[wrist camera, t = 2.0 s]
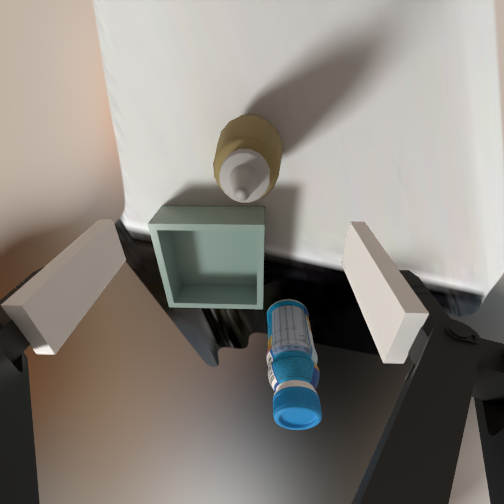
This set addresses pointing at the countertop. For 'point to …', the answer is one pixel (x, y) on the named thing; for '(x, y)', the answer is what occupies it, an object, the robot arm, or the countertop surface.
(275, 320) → the beverage bottle
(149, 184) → the countertop surface
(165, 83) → the countertop surface
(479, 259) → the countertop surface
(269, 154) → the squeeze bottle
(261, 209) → the box
